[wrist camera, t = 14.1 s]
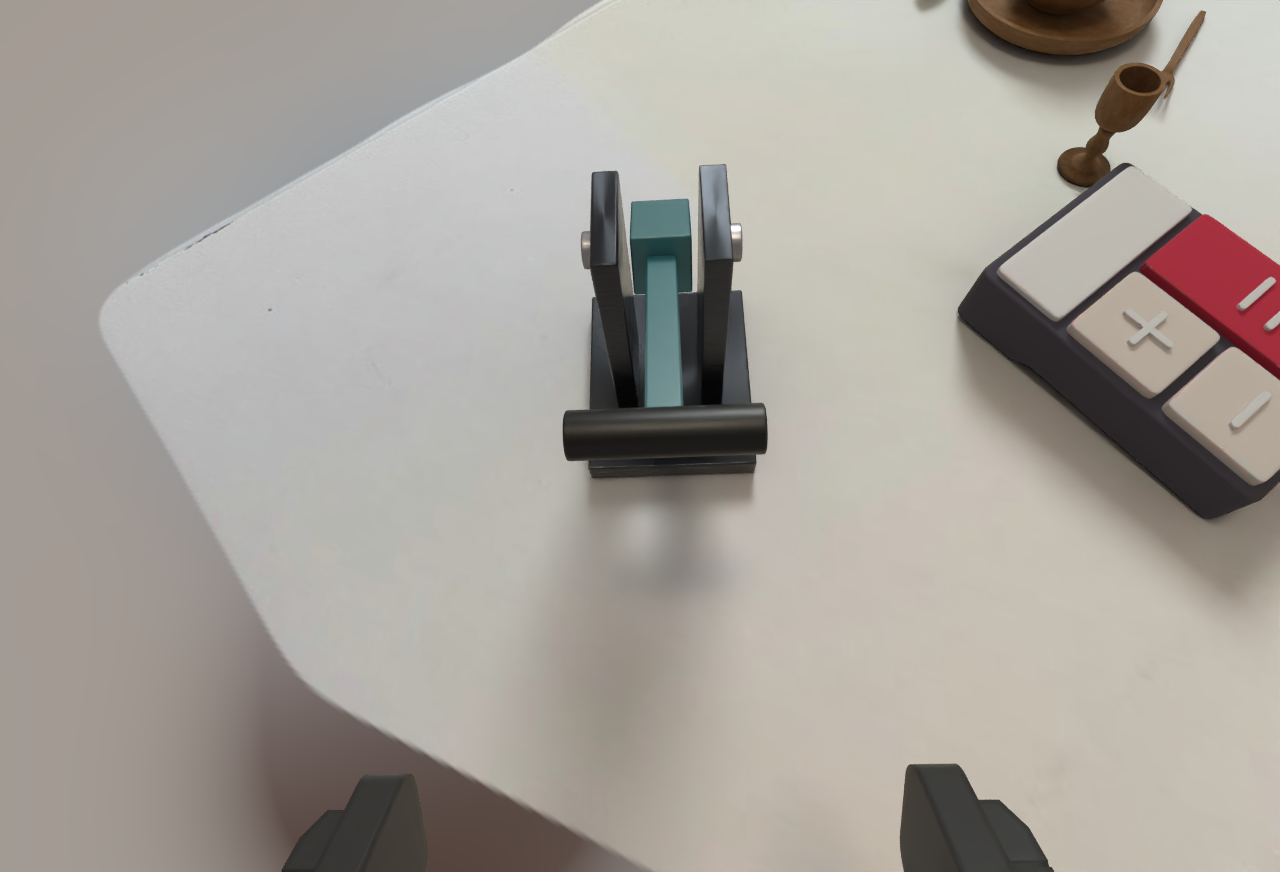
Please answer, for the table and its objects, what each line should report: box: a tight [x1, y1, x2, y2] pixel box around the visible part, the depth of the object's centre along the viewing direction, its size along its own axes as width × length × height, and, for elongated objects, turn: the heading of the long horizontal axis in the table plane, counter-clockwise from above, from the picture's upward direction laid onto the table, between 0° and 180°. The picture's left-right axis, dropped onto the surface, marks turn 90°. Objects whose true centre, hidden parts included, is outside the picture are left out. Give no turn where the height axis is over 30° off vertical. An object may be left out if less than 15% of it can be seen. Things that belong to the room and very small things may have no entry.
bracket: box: [581, 164, 756, 478], centre depth 31 cm, size 10×8×13 cm
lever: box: [563, 199, 768, 461], centre depth 24 cm, size 12×6×2 cm, turn 0°
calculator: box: [958, 163, 1280, 519], centre depth 35 cm, size 11×4×15 cm
